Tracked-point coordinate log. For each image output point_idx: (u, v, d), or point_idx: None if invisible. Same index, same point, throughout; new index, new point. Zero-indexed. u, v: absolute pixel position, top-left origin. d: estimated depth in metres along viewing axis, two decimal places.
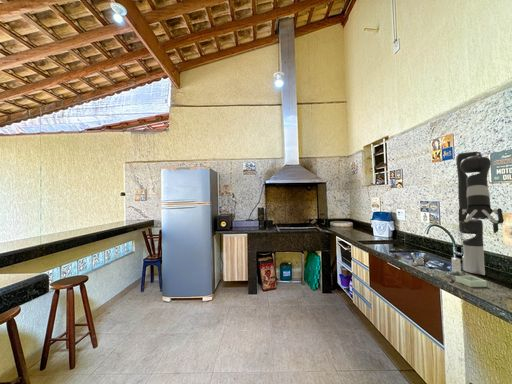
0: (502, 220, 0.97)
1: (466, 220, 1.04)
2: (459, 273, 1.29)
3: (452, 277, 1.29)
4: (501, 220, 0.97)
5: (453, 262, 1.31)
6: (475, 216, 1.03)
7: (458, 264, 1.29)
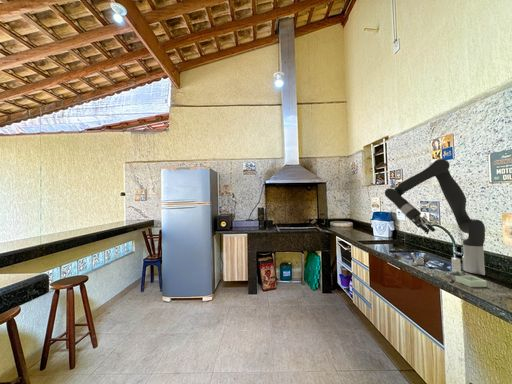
0: None
1: None
2: (459, 273, 1.29)
3: (452, 277, 1.29)
4: None
5: (453, 262, 1.31)
6: None
7: (458, 264, 1.29)
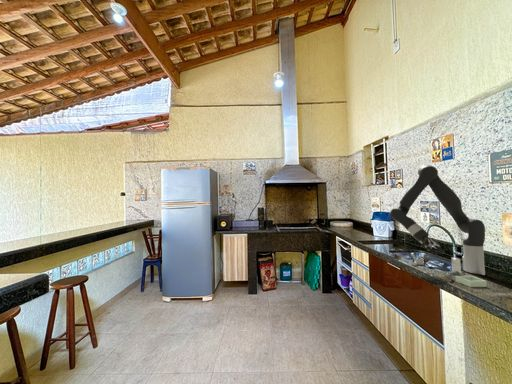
0: None
1: None
2: (459, 273, 1.29)
3: (452, 277, 1.29)
4: None
5: (453, 262, 1.31)
6: None
7: (458, 264, 1.29)
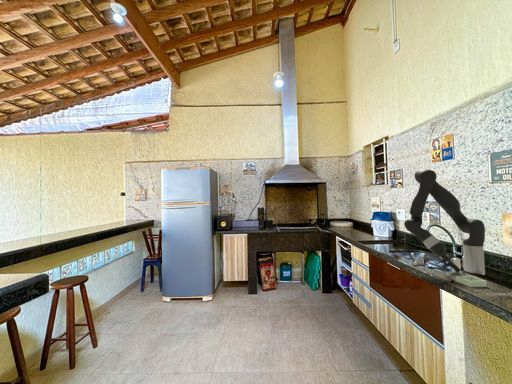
0: None
1: None
2: (459, 273, 1.29)
3: (452, 277, 1.29)
4: None
5: (453, 262, 1.31)
6: None
7: (458, 264, 1.29)
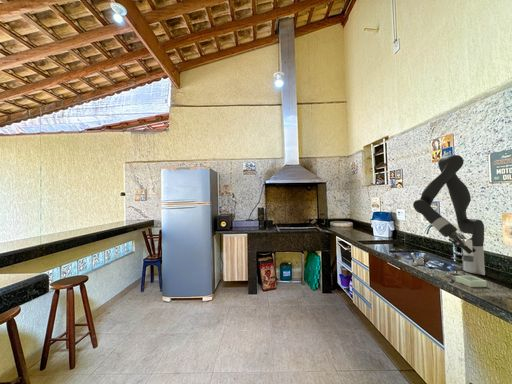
0: None
1: None
2: (471, 255, 1.22)
3: (452, 277, 1.29)
4: None
5: (464, 243, 1.23)
6: None
7: (470, 245, 1.22)
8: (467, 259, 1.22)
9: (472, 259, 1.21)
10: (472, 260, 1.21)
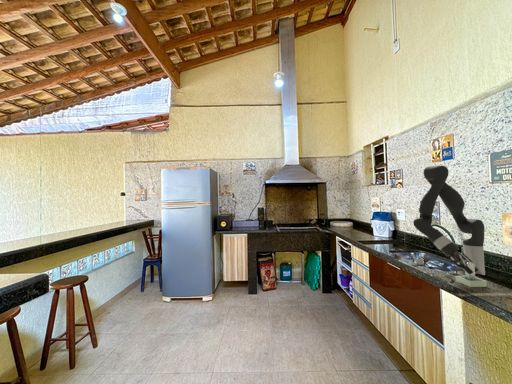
0: None
1: None
2: (473, 278, 1.21)
3: (452, 277, 1.29)
4: None
5: None
6: None
7: (472, 269, 1.21)
8: None
9: None
10: None
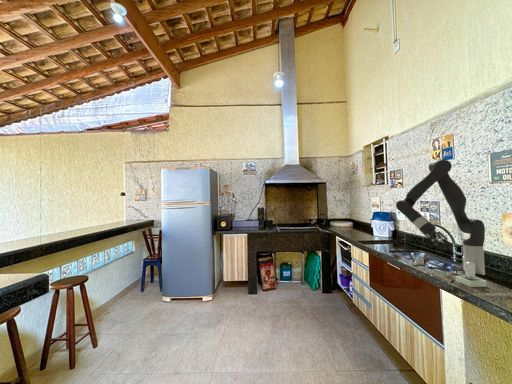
0: None
1: None
2: (473, 278, 1.21)
3: (452, 277, 1.29)
4: None
5: (467, 266, 1.23)
6: None
7: (472, 269, 1.21)
8: None
9: None
10: None
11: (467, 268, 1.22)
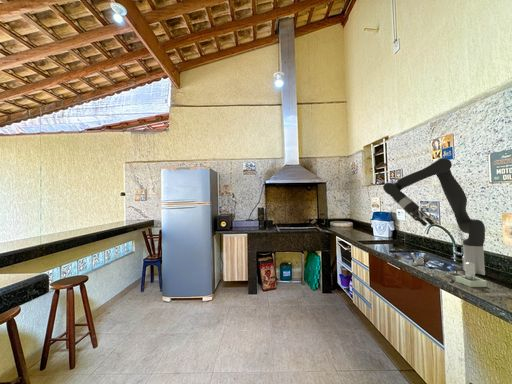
0: None
1: None
2: (473, 278, 1.21)
3: (452, 277, 1.29)
4: None
5: (466, 267, 1.22)
6: None
7: (472, 269, 1.21)
8: None
9: None
10: None
11: (467, 268, 1.22)
